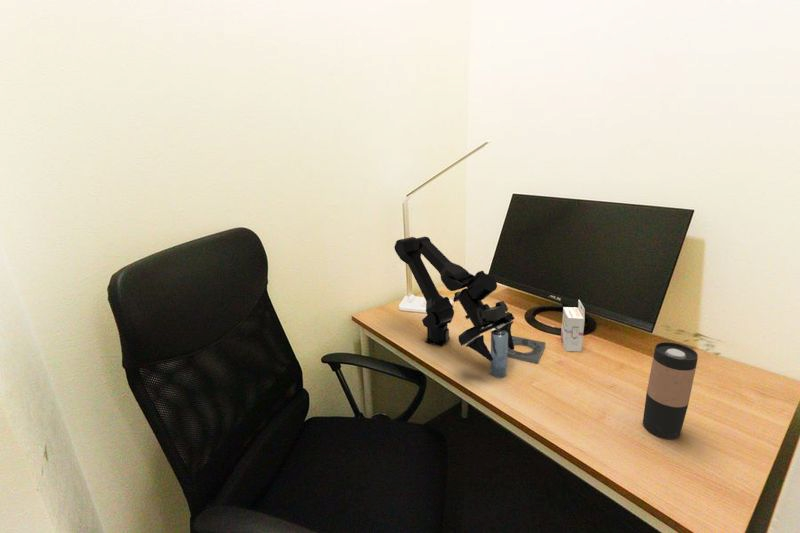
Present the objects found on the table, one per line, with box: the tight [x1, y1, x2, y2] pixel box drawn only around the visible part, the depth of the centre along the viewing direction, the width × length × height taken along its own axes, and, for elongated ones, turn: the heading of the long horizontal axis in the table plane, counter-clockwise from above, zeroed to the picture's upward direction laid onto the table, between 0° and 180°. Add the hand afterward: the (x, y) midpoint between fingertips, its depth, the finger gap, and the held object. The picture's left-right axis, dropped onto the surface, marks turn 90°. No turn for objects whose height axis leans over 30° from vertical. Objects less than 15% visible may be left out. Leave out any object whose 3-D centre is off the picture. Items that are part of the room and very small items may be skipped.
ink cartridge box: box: [560, 299, 586, 353], centre depth 121 cm, size 9×5×15 cm, turn 168°
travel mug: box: [642, 341, 699, 440], centre depth 83 cm, size 8×8×20 cm
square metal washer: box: [507, 335, 546, 365], centre depth 121 cm, size 12×12×1 cm
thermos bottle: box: [489, 329, 508, 379], centre depth 107 cm, size 5×5×14 cm
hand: (502, 354), depth 106 cm, fingers open, 9 cm apart
